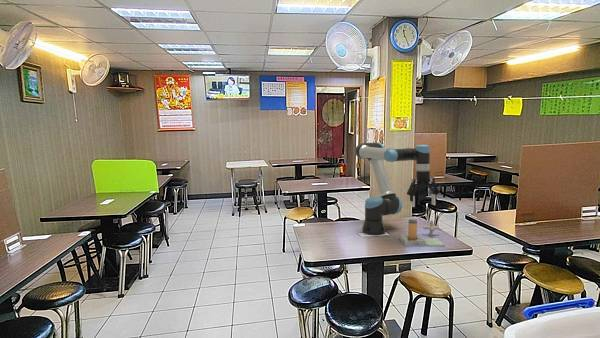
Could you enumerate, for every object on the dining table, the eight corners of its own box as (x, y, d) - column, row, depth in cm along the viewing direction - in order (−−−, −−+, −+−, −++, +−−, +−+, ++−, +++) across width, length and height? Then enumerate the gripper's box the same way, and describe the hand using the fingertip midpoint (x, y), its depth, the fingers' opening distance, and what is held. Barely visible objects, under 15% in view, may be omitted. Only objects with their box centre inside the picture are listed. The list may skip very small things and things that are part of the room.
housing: (399, 239, 200) (399, 234, 199) (418, 238, 199) (418, 234, 199) (405, 246, 188) (405, 241, 187) (425, 245, 187) (425, 241, 187)
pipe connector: (440, 238, 200) (441, 223, 199) (424, 237, 202) (424, 222, 201) (437, 233, 210) (438, 218, 208) (421, 232, 212) (422, 217, 210)
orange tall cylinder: (406, 241, 196) (407, 219, 194) (414, 241, 196) (415, 219, 194) (409, 243, 191) (410, 221, 189) (417, 243, 191) (418, 221, 189)
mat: (421, 239, 198) (421, 238, 198) (437, 239, 197) (437, 238, 197) (427, 246, 187) (427, 245, 187) (444, 246, 186) (444, 244, 186)
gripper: (407, 172, 181) (407, 208, 182) (445, 170, 185) (445, 205, 187) (400, 171, 188) (401, 206, 190) (438, 169, 193) (438, 203, 194)
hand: (423, 205), depth 188 cm, fingers open, 13 cm apart
